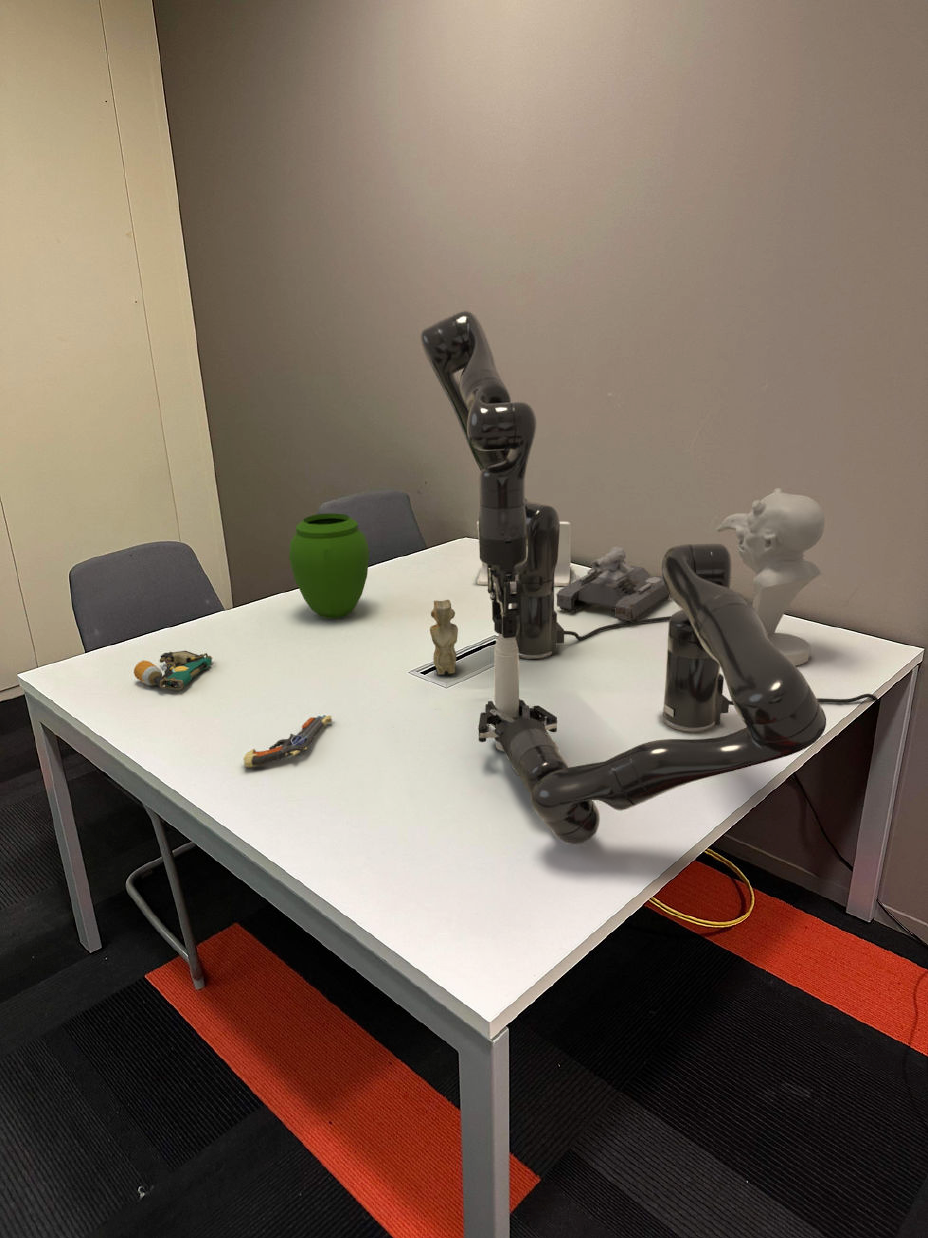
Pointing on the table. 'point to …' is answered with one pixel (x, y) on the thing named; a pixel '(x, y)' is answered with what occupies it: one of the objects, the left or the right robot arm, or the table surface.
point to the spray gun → (172, 669)
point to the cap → (499, 623)
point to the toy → (615, 588)
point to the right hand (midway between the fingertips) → (503, 704)
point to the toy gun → (288, 743)
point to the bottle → (506, 678)
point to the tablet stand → (562, 564)
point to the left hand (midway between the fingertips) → (504, 629)
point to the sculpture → (444, 637)
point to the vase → (329, 563)
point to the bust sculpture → (779, 558)
